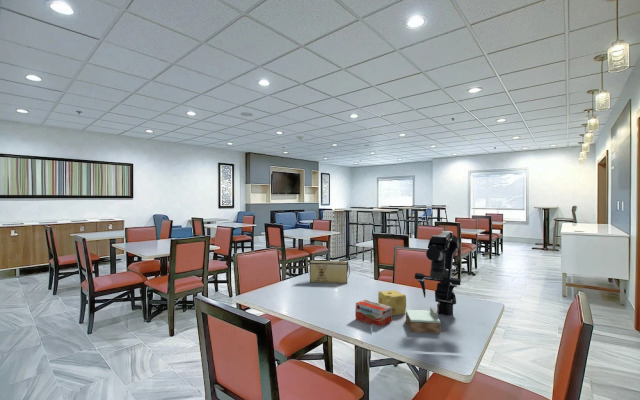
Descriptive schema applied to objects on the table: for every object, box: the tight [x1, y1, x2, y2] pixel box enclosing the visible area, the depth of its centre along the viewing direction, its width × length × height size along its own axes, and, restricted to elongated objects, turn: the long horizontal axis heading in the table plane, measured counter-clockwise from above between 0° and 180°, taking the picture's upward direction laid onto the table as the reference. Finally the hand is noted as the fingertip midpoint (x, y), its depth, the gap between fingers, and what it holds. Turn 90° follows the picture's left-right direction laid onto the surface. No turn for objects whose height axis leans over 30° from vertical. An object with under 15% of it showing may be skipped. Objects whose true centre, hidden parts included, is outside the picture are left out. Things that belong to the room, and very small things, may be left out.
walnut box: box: [405, 312, 441, 334], centre depth 133 cm, size 12×12×5 cm
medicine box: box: [354, 299, 393, 327], centre depth 142 cm, size 15×8×8 cm, turn 46°
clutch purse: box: [306, 260, 351, 284], centre depth 211 cm, size 30×7×15 cm, turn 83°
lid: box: [405, 306, 441, 324], centre depth 133 cm, size 12×12×3 cm
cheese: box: [377, 289, 407, 316], centre depth 152 cm, size 10×11×10 cm
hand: (435, 299), depth 133 cm, fingers open, 9 cm apart
